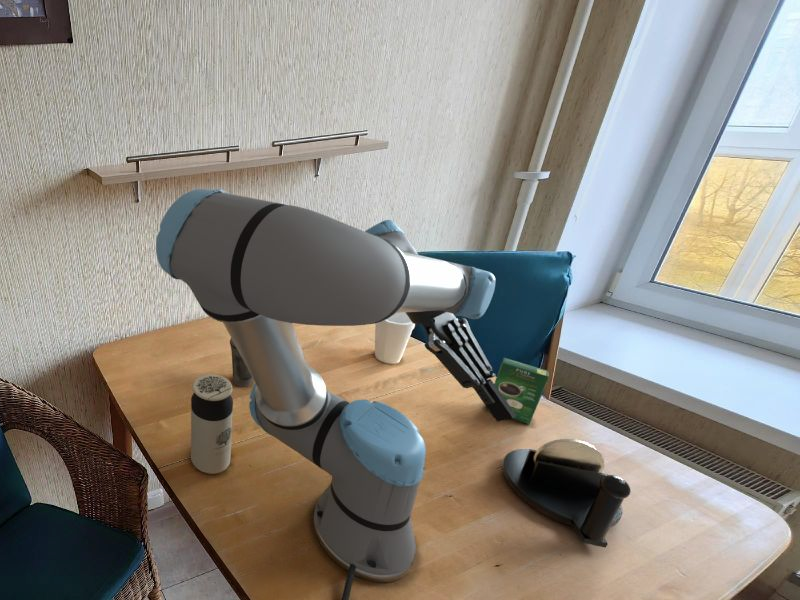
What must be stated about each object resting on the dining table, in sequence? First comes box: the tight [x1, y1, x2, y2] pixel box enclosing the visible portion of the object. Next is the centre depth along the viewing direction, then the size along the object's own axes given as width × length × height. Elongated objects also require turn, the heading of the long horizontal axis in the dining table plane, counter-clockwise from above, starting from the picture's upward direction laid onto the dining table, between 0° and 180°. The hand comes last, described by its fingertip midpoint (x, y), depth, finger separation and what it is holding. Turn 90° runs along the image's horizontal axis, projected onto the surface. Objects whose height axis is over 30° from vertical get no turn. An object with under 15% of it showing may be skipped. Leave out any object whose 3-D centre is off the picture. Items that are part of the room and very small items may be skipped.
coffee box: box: [486, 357, 550, 425], centre depth 94 cm, size 8×3×13 cm, turn 49°
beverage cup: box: [229, 337, 253, 388], centre depth 106 cm, size 7×7×20 cm
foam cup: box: [374, 312, 416, 365], centre depth 116 cm, size 10×9×13 cm
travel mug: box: [190, 373, 234, 475], centre depth 83 cm, size 8×8×18 cm
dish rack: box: [501, 438, 632, 548], centre depth 73 cm, size 20×16×13 cm
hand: (506, 418), depth 72 cm, fingers closed
